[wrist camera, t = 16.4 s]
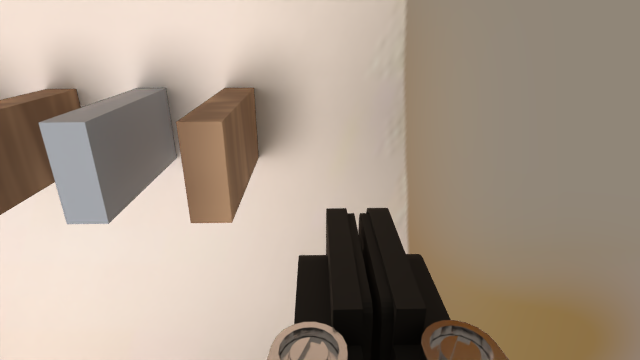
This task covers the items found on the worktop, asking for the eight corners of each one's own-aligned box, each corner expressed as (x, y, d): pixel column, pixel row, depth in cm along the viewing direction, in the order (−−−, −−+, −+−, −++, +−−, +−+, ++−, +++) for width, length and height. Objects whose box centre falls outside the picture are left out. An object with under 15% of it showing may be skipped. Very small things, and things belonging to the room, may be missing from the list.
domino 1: (76, 89, 26) (-56, 123, 17) (92, 159, 28) (-18, 225, 19) (46, 89, 26) (-103, 124, 17) (64, 159, 28) (-60, 225, 18)
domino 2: (253, 87, 26) (221, 121, 17) (258, 157, 28) (232, 222, 19) (224, 88, 26) (176, 122, 17) (231, 157, 28) (190, 222, 19)
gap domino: (165, 87, 26) (84, 122, 17) (176, 158, 28) (108, 223, 19) (136, 88, 26) (38, 122, 17) (149, 158, 28) (66, 224, 19)
